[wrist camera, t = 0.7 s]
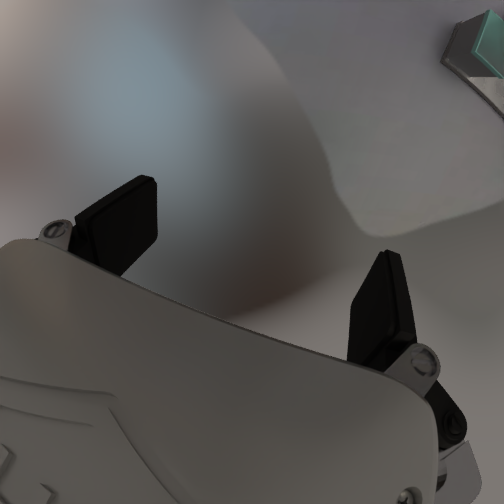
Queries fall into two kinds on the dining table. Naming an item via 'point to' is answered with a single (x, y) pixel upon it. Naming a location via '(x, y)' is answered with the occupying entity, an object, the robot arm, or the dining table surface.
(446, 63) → the rail
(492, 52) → the block
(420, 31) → the dining table surface
